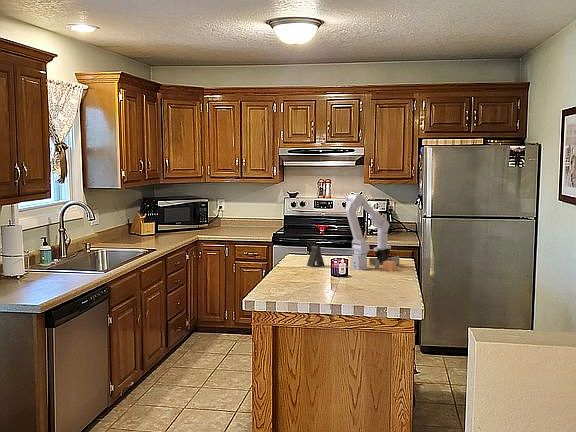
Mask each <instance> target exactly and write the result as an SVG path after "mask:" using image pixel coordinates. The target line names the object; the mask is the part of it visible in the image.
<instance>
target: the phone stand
mask: <svg viewBox="0 0 576 432" xmlns="http://www.w3.org/2000/svg"><path fill="white" fill-rule="evenodd" d="M306 266H307V267H310V268H318V267H325V266H326V265H325V261H324V258H323V256H322V252H321V247H320V246H318V245H311V247H310V253H309V257H308V260H307V263H306Z"/></svg>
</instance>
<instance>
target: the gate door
mask: <svg viewBox="0 0 576 432" xmlns="http://www.w3.org/2000/svg"><path fill="white" fill-rule="evenodd" d="M375 260H378V259H377V257H369V258H368V261H369V263H368V264H369V266H375ZM387 261H392V258H391V257H388V258H387ZM379 266H383V257H382V263H379Z"/></svg>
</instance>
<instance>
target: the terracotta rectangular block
mask: <svg viewBox="0 0 576 432" xmlns="http://www.w3.org/2000/svg"><path fill="white" fill-rule="evenodd" d="M382 267H383V271H390V272H393V271H396V270H397V265H396V262H394V261H383V265H382Z"/></svg>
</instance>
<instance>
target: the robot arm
mask: <svg viewBox="0 0 576 432" xmlns="http://www.w3.org/2000/svg"><path fill="white" fill-rule="evenodd" d="M344 201H345V214H346V216H347V220H348V223H349V224H348V225H349V228H350V231H351V234H352V241H351V249H352V251H353V253H354V254H352V255H351V257H350V267H349V269H350V270H355V271H363V270H369V269H371V268H370V267H368V266H367V265H368V262H367V261H368V253H369V251H370V245H369V243H368V242H367V240H366V238H364V236H363V232H362V230H361V226H360V223H359V219H358V214H357V211H358V209H359V208H362V209H364V211H365V212H367V214H368V215H369V218H370V220H371V221H372V222H374V224H375V227H376V228H377V246H375V247H373V252H374V254H375V256H376V258H377V259H378V260H379V263H382V258H383V261H387V258H389V254H390V252H391V249H392V245H388V232H389V229H390V225H391V224H390V223H389V221H388V220H387V219H385V218H384V216H382V215H381V214H380V211H378V210H374V209H373V207H372V205H370V204H369V202H368V201H367V200H366V197H364V195H362V194H360V193H359V194H355V193H349V194H348V195H347V196H346V197H345V200H344Z"/></svg>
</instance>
